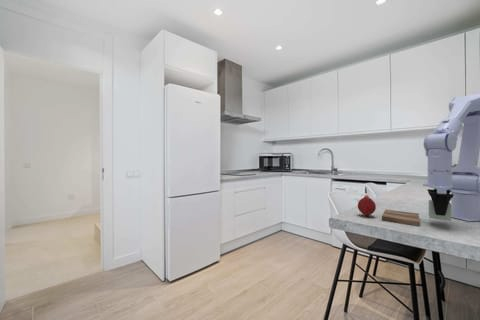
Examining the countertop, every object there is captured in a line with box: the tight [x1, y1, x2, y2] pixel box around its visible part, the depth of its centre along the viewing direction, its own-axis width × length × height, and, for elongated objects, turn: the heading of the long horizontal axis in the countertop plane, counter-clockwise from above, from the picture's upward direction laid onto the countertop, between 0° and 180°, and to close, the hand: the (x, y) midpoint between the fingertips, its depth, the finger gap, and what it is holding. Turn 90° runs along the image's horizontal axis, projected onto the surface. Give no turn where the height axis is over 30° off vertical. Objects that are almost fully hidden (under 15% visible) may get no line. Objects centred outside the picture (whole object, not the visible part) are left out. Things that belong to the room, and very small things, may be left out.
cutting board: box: [381, 209, 420, 227], centre depth 76 cm, size 12×10×2 cm
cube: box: [428, 199, 452, 222], centre depth 69 cm, size 5×5×5 cm
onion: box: [357, 194, 377, 217], centre depth 80 cm, size 6×6×8 cm
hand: (439, 213), depth 69 cm, fingers closed on cube, 5 cm apart
